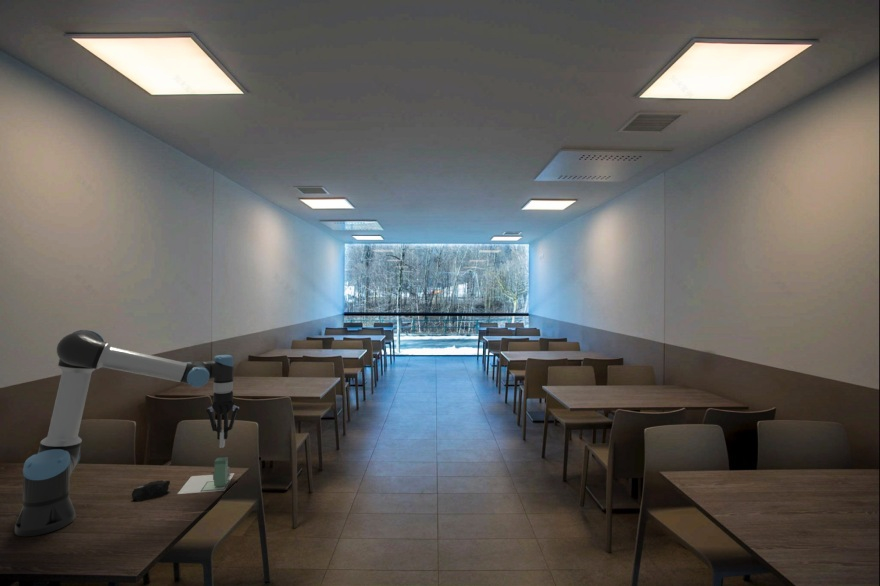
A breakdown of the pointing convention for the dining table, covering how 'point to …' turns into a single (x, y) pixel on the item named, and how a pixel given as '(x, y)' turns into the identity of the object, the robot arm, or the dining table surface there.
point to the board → (202, 484)
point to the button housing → (227, 473)
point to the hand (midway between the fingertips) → (222, 446)
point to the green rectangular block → (220, 471)
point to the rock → (150, 490)
